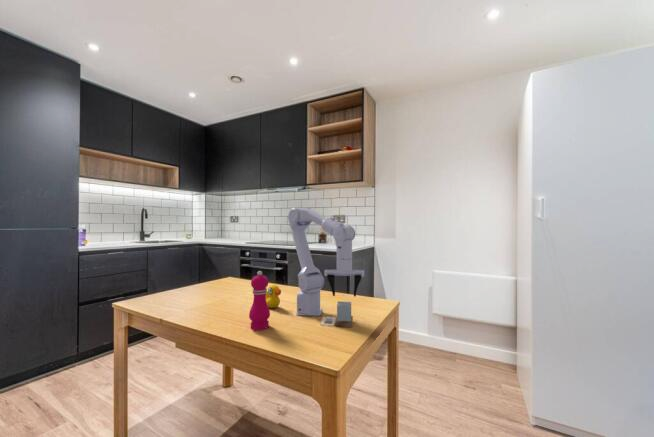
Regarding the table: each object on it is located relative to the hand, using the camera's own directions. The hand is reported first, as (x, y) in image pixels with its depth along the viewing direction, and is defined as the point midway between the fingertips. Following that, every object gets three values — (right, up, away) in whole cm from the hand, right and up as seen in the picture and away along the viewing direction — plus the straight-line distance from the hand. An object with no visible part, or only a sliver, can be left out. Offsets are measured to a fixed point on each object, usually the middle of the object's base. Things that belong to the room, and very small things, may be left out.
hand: (344, 295), depth 101 cm
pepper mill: (-30, -11, -3) cm, 32 cm away
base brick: (0, -10, 0) cm, 10 cm away
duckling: (-30, -11, +19) cm, 37 cm away
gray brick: (0, -8, 0) cm, 8 cm away
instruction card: (-6, -10, +2) cm, 12 cm away
